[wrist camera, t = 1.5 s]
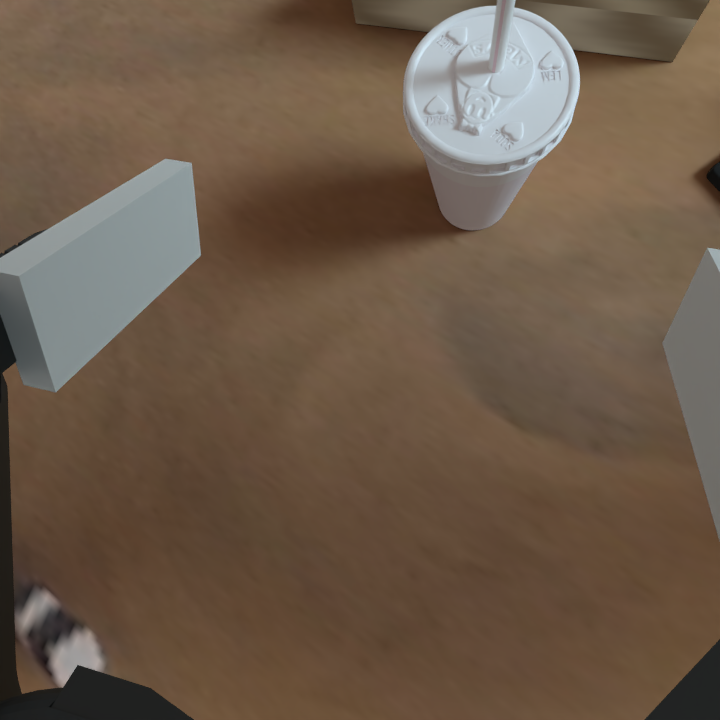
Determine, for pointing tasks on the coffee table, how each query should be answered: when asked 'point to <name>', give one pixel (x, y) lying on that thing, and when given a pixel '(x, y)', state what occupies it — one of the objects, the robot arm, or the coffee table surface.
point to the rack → (564, 21)
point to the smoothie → (488, 106)
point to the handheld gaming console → (715, 175)
